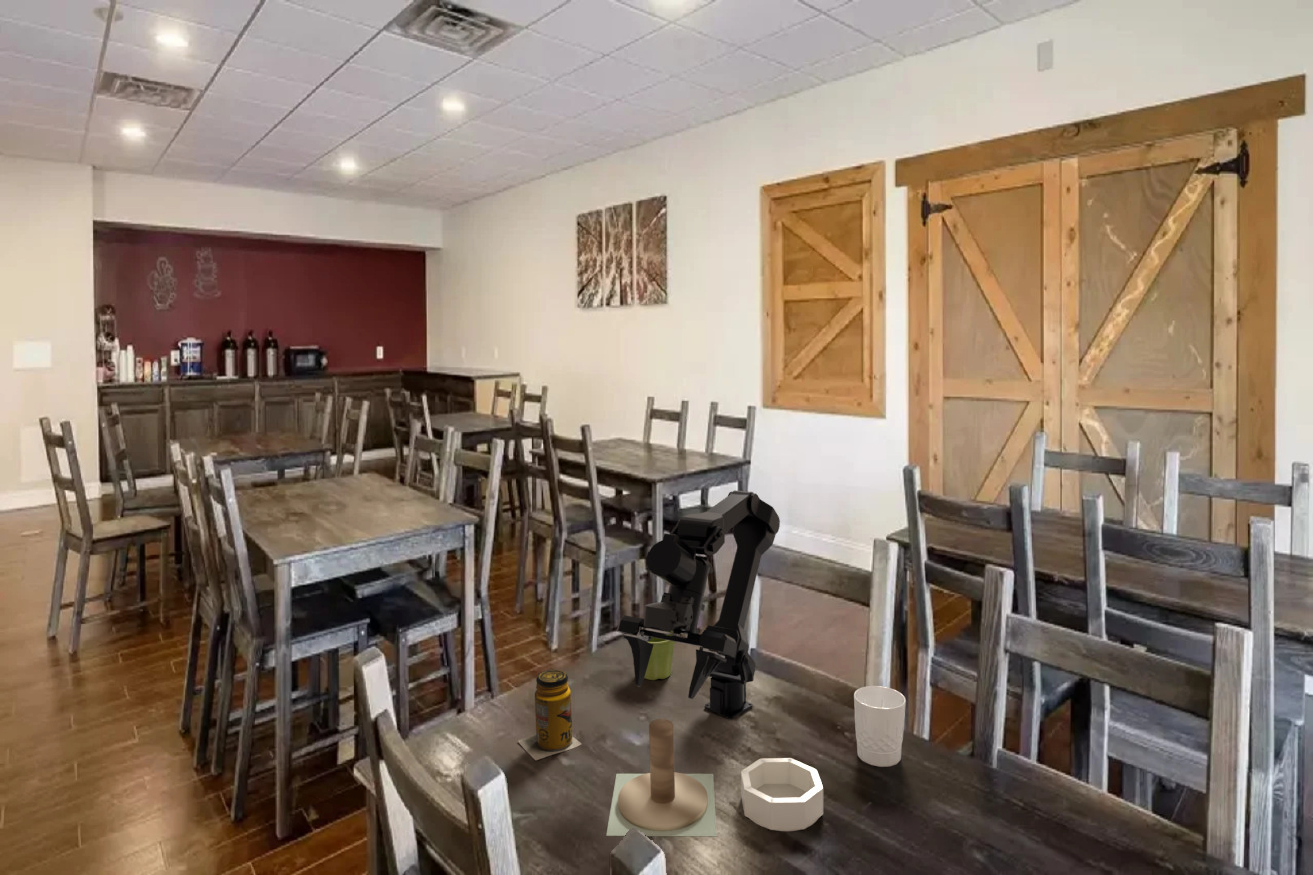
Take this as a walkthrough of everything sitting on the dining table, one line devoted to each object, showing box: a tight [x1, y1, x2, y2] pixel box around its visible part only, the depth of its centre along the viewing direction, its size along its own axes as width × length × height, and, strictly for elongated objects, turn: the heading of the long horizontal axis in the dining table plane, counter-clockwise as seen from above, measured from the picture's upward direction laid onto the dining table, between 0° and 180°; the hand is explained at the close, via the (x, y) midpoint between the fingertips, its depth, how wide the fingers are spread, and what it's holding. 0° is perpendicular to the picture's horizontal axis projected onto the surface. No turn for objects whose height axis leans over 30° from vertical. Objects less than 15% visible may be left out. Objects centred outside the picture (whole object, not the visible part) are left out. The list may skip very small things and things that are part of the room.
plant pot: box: [644, 632, 676, 681], centre depth 155 cm, size 9×9×9 cm
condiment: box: [517, 669, 582, 761], centre depth 129 cm, size 7×8×12 cm
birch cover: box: [618, 718, 708, 831], centre depth 111 cm, size 13×13×12 cm
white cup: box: [853, 685, 907, 768], centre depth 123 cm, size 8×8×10 cm
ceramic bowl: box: [740, 757, 824, 832], centre depth 110 cm, size 11×11×4 cm
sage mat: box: [605, 773, 717, 837], centre depth 112 cm, size 15×15×1 cm
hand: (663, 692), depth 118 cm, fingers open, 9 cm apart
